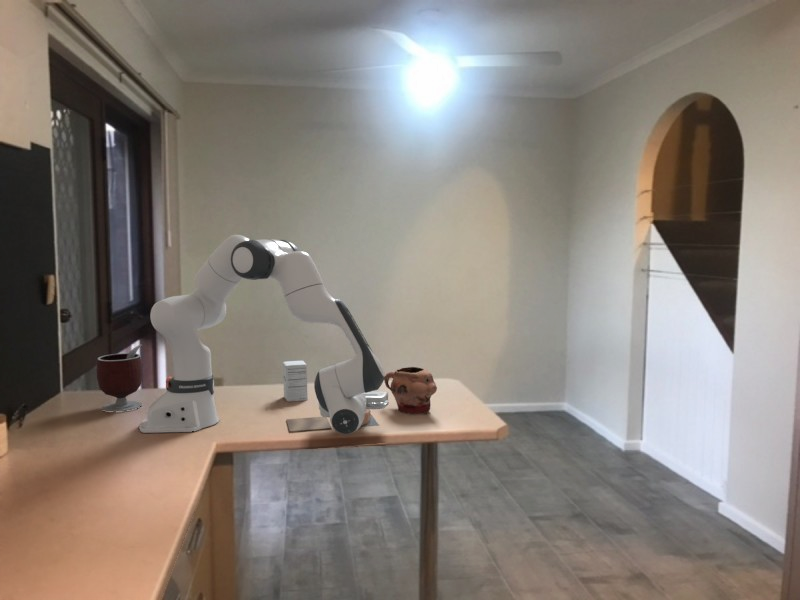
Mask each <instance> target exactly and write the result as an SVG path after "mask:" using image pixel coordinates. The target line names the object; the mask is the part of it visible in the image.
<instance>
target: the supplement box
mask: <svg viewBox="0 0 800 600" xmlns="http://www.w3.org/2000/svg"><path fill="white" fill-rule="evenodd" d="M282 368H283V369H282V370H283V371H282V372H283V373H282V374H283V377H282V378H283V397H284V398H285V401H286V402H299V401H308V400H309V399H308V364H307V363H306V362H305V361H304V360H290V361H289V360H288V361H287V360H286V361H283V362H282Z"/></svg>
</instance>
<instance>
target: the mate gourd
mask: <svg viewBox="0 0 800 600" xmlns="http://www.w3.org/2000/svg"><path fill="white" fill-rule="evenodd" d="M141 347H143V344H139V345H137V346H135V347H133V348H132V349H130V351H129V352H122V353H113V354H106V355H102V356H99V357H97V362H96V380H97V385H98V387H99V389H100V390H101V392H103V393H104V395H106V396H110V397H114V398H116V400H115V402H112V403H107V404H105V405H106V406H104V405H102V406H101V409H102V410H105V411H113V412H116V411H127V410H132V409H135V408H138V407H140V406H141V405H142V406H143V403H142V402H140V401H137V400H136V401H135V400H128V399H127V397H128V396H130V395H132V394H133V393H134V394H135V393H136V392H138V390H139V389H140V387H141V386H142V382H143V375H144V367H143V362H142V361H143V360H142V359H141V358H142V357H141V354H140V353H137V352H138V350H139V349H140V348H141ZM102 410H101V411H102Z"/></svg>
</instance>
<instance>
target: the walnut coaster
mask: <svg viewBox="0 0 800 600" xmlns="http://www.w3.org/2000/svg"><path fill="white" fill-rule="evenodd" d="M286 423H287V424H286V425H287V428H288V432H289V433H301V432H302V433H304V432H315V431H328V430H332V429H333V427H332V425H331V422H330V421H329V418H328V417H323V416H312V417H300V418H297V417H296V418H288V419H287V418H286Z"/></svg>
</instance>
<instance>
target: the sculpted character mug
mask: <svg viewBox="0 0 800 600" xmlns="http://www.w3.org/2000/svg"><path fill="white" fill-rule="evenodd" d="M390 379H392V380H391V382H390V385H389V381H390ZM383 382H384V384H385V387H386V388H387V389H389V391H390V392H391V394H392V396H393V397H394V400H395V402H396V405H397V409H398V412H399V413H403V414H407V415H425V414H427V413H429V412H430V411H431V397H432V396H433V395H435V393H436V392H437V390H438V387H437V384H436V382H435V381H434V376H433V375H432V373H431V372H430V371H429V370H428V369H425V368H422V367H418V366H417V367H415V366H406V367H405V366H404V367H401V368H396V369H395V371H394V372H393V371H390V372H389V371H388V372H387V373H386V374H385V379H384V381H383Z"/></svg>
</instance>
